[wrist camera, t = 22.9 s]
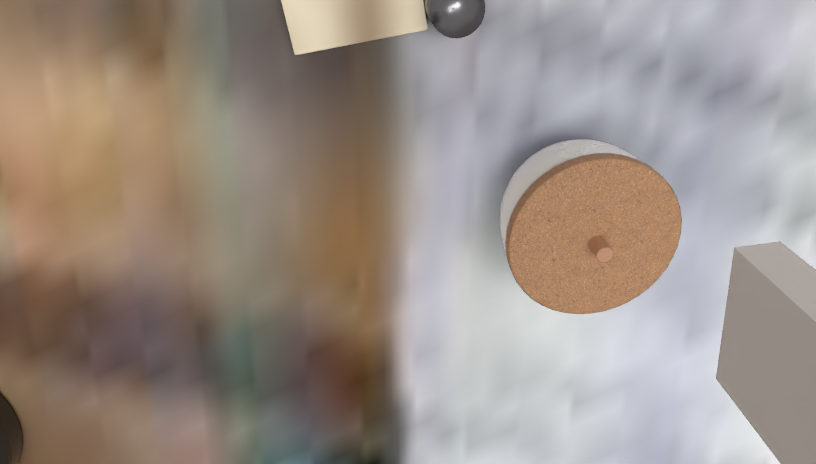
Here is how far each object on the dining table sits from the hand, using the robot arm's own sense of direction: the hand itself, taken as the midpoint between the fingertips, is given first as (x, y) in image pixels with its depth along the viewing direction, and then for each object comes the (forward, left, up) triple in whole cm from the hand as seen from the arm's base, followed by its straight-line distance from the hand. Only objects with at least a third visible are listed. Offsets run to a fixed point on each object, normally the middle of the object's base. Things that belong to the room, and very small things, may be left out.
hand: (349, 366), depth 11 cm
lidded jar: (+13, -13, -33) cm, 38 cm away
